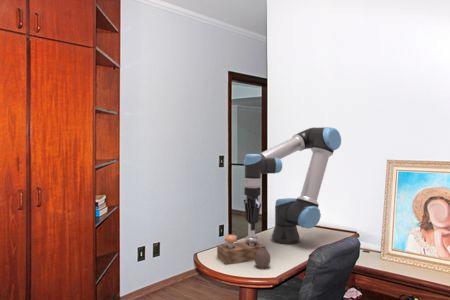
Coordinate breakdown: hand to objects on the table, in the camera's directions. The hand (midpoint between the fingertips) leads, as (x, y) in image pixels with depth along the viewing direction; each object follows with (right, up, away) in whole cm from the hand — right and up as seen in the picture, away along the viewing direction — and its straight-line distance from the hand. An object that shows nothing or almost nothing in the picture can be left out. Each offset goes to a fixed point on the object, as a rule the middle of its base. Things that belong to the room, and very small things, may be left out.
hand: (251, 236), depth 171 cm
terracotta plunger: (-10, -5, -4) cm, 12 cm away
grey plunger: (0, -7, 0) cm, 7 cm away
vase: (+4, -11, -12) cm, 17 cm away
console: (-5, -10, -2) cm, 11 cm away
